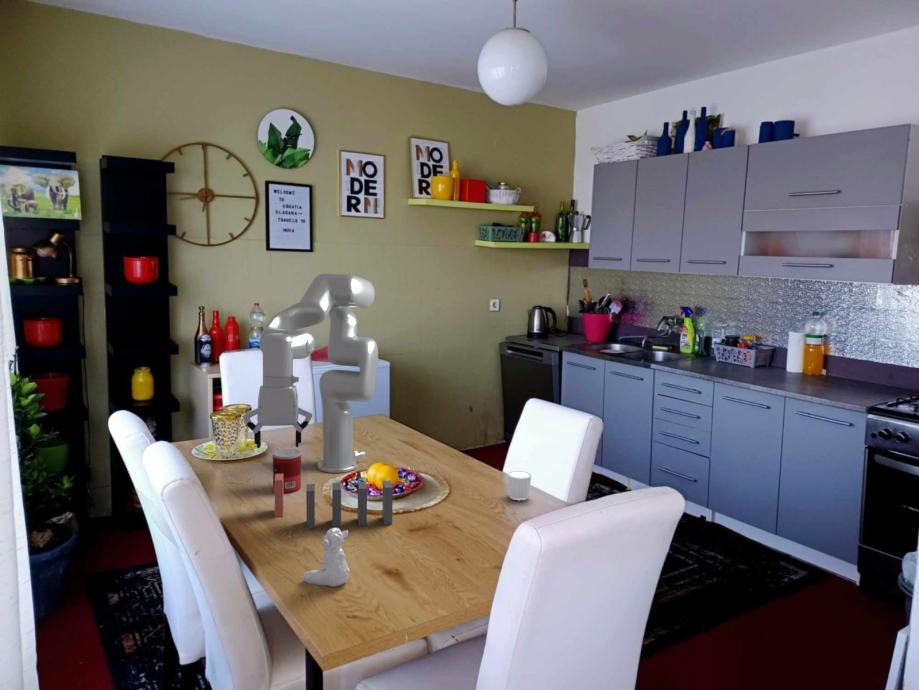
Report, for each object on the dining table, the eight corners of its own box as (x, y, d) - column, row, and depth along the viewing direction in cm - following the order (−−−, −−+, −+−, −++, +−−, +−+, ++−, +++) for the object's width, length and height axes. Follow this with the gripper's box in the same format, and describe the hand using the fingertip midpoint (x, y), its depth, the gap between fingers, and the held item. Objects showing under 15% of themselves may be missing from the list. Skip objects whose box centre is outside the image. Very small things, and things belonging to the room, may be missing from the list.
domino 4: (389, 516, 177) (390, 480, 176) (392, 524, 172) (392, 487, 171) (382, 517, 177) (382, 480, 175) (384, 524, 172) (384, 487, 171)
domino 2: (340, 519, 175) (340, 482, 173) (340, 527, 170) (341, 489, 168) (332, 519, 174) (332, 483, 173) (332, 527, 169) (333, 489, 168)
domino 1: (314, 520, 173) (314, 483, 172) (314, 528, 168) (314, 490, 167) (306, 521, 173) (306, 484, 171) (306, 529, 168) (306, 491, 166)
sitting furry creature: (336, 565, 150) (336, 514, 148) (363, 578, 144) (363, 525, 142) (302, 581, 142) (301, 527, 140) (328, 595, 137) (328, 540, 135)
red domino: (283, 509, 180) (283, 473, 178) (282, 516, 175) (282, 480, 174) (275, 509, 180) (275, 473, 178) (274, 517, 175) (274, 480, 173)
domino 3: (365, 518, 176) (365, 481, 174) (366, 525, 171) (367, 488, 170) (357, 518, 175) (357, 481, 174) (358, 526, 171) (359, 488, 169)
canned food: (306, 486, 197) (306, 450, 195) (290, 495, 190) (290, 458, 188) (283, 482, 200) (283, 447, 198) (267, 491, 192) (267, 454, 190)
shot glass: (533, 495, 195) (534, 472, 194) (525, 503, 189) (526, 479, 188) (511, 491, 198) (512, 468, 197) (503, 499, 192) (504, 475, 191)
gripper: (312, 378, 178) (312, 441, 180) (244, 379, 174) (244, 443, 176) (312, 384, 170) (312, 449, 173) (241, 384, 167) (241, 451, 169)
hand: (278, 446), depth 174 cm, fingers open, 9 cm apart
